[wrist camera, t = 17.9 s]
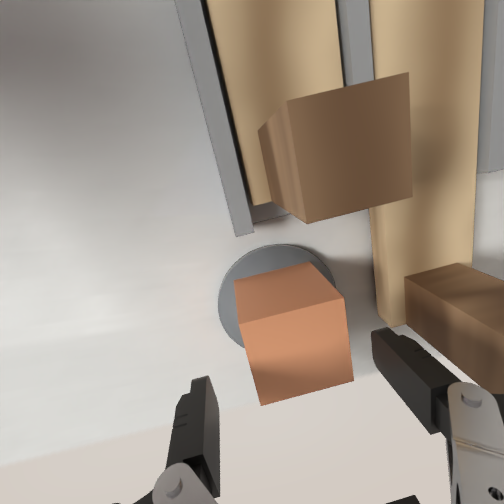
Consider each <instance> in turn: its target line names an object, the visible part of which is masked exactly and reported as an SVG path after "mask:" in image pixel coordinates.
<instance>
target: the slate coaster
mask: <svg viewBox="0 0 504 504" xmlns="http://www.w3.org/2000/svg"><path fill="white" fill-rule="evenodd" d="M309 261H310V262H311V263H312V264H313V266H314V267H315V268H316V269H317V270H318V271H319V272H320V273H321V274H322V275H323V276H324V277H325V278H326V279H327V280H328V281H329V282H330V283H331V284H332V285H333V286H334V288H335V289H336V287H335V282H334V280H333V277H332V275H331V273H330V271H329V270H328V268H327V267H326V266H325V265H324V264H323V263H322V262H321V261H320V260H319V259H318V258H317V257H316V256H315V255H313V254H312V253H310V252H309V251H307V250H305V249H303V248H300V247H297V246H292V245H285V244H276V245H268V246H264V247H261V248H258V249H255V250H253V251H251V252H249V253H247V254H246V255H244V256H243V257H241V258H240V259H239V260H238V261H236V262H235V264H234V265H233V266H232V267H231V268H230V269H229V271H228V272H227V273H226V275H225V277H224V279H223V281H222V284H221V286H220V290H219V296H218V311H219V317H220V321H221V323H222V326H223V328H224V329H225V331H226V333H227V334H228V335H229V336H230V338H231V339H232V340H234V341H235V342H236V343H237V344H239V345H240V346H241V347H243V348H245V346H244V343H243V339H242V335H241V332H240V328H239V324H238V316H237V307H236V298H235V289H234V280H237V279H241V278H245V277H249V276H253V275H257V274H261V273H265V272H269V271H273V270H277V269H281V268H285V267H289V266H293V265H297V264H301V263H305V262H309Z"/></svg>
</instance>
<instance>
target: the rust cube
mask: <svg viewBox="0 0 504 504" xmlns="http://www.w3.org/2000/svg"><path fill="white" fill-rule="evenodd" d="M234 289H235V298H236V307H237V316H238V324H239V328H240V332H241V335H242V339H243V343H244V346H245V350H246V354H247V357H248V361H249V364H250V368H251V372H252V375H253V379H254V383H255V386H256V390H257V393H258V397H259V401H260V404H261V406H263V405H266V404H270V403H274V402H278V401H281V400H285V399H289V398H292V397H296V396H300V395H304V394H307V393H311V392H315V391H318V390H322V389H326V388H329V387H333V386H337V385H340V384H344V383H348V382H352V381H354V377H353V369H352V360H351V352H350V343H349V335H348V327H347V318H346V310H345V301H344V297H343V296H342V295H341V294H340V293H339V292H338V291H337V290H336V289H335V288H334V286H333V285H332V284H331V283H330V282H329V281H328V280H327V279H326V278H325V277H324V276H323V275H322V274H321V273H320V272H319V271H318V270H317V269H316V268H315V267H314V266H313V264H312V263H311V262H310V261H309V262H305V263H301V264H297V265H293V266H289V267H285V268H281V269H277V270H273V271H269V272H265V273H261V274H257V275H253V276H249V277H245V278H241V279H237V280H234Z"/></svg>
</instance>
